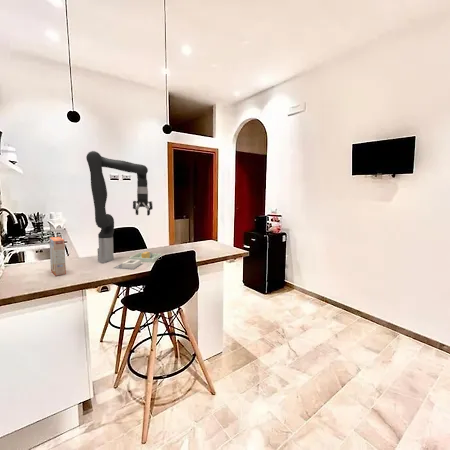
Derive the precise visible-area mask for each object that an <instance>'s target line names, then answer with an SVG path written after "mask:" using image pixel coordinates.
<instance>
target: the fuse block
mask: <svg viewBox="0 0 450 450" xmlns="http://www.w3.org/2000/svg"><path fill="white" fill-rule="evenodd" d="M142 265H143V263H142V262H141V260H133V259H129V258H128V259H127V260H126V261H123V262H122V263H120V264H119V265H116V266H114V267H113V269H118V270H119V269H120V270H121V269H122V270H132V271H133V270H136V269H137V268H139V267H141V266H142Z"/></svg>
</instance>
